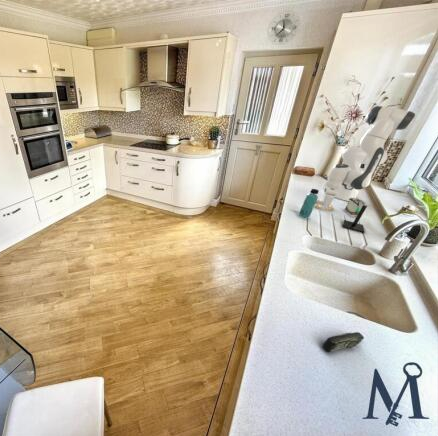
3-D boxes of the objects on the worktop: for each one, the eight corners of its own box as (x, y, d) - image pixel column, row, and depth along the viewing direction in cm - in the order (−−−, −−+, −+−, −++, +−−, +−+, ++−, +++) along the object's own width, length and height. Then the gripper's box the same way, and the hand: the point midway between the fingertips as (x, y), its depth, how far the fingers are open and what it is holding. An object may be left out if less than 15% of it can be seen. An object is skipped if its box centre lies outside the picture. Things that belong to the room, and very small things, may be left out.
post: (342, 221, 153) (354, 200, 145) (362, 226, 148) (374, 205, 140) (343, 227, 145) (355, 206, 138) (363, 233, 141) (377, 211, 133)
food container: (362, 219, 156) (370, 206, 151) (352, 217, 157) (360, 204, 152) (352, 210, 167) (359, 198, 162) (343, 209, 168) (349, 197, 162)
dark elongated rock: (334, 345, 73) (371, 335, 76) (325, 337, 75) (361, 327, 78) (327, 354, 75) (363, 344, 78) (319, 345, 78) (354, 336, 81)
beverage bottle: (308, 216, 157) (320, 188, 147) (309, 220, 151) (322, 192, 141) (297, 213, 159) (308, 186, 149) (298, 218, 154) (310, 190, 144)
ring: (310, 200, 179) (311, 198, 177) (331, 206, 172) (333, 203, 171) (309, 207, 169) (310, 204, 167) (331, 213, 162) (333, 210, 161)
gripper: (325, 182, 166) (317, 200, 173) (326, 191, 151) (317, 210, 158) (336, 185, 163) (328, 202, 170) (337, 193, 148) (328, 213, 155)
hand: (322, 206), depth 164 cm, fingers open, 8 cm apart
